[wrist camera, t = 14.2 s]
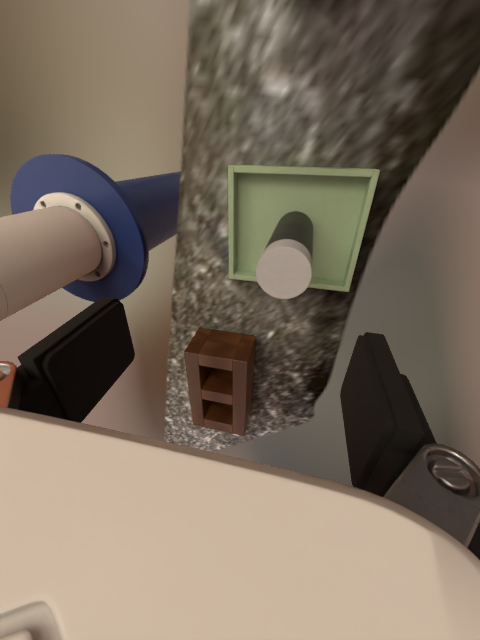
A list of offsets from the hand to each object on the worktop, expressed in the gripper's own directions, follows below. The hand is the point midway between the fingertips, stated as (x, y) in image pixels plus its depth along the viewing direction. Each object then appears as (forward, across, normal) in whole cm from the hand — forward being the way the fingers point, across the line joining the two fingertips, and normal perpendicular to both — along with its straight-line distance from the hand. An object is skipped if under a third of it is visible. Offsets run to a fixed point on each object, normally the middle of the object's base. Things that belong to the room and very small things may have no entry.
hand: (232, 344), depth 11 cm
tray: (+24, -2, +1) cm, 24 cm away
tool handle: (+23, -2, +1) cm, 23 cm away
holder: (+24, +6, +24) cm, 35 cm away
